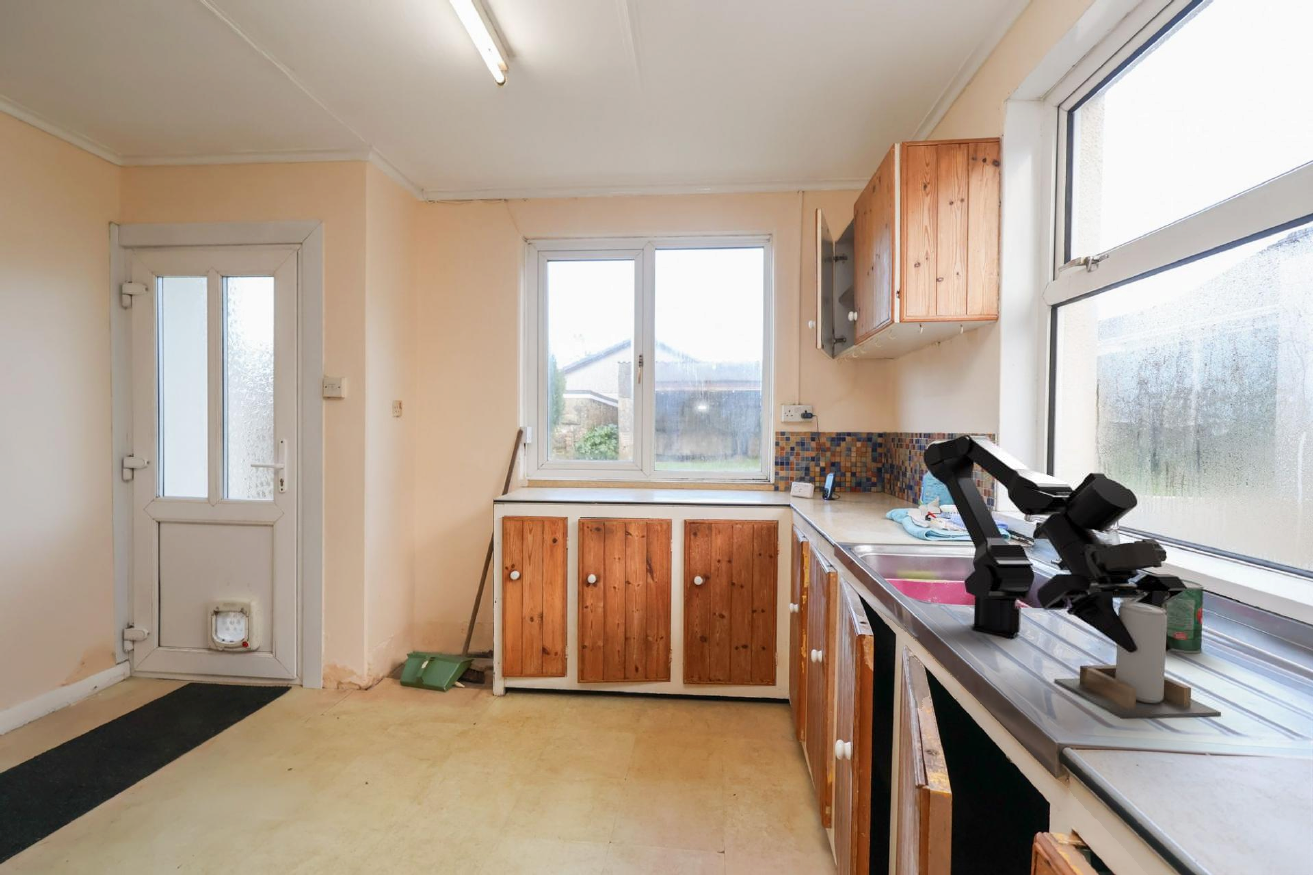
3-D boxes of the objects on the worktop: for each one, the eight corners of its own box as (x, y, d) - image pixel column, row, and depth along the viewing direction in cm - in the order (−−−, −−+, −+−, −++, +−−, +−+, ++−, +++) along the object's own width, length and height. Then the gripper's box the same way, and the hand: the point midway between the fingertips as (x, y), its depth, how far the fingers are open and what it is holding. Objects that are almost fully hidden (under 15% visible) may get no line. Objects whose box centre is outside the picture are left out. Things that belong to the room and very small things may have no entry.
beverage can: (1172, 707, 69) (1177, 614, 69) (1129, 702, 70) (1133, 610, 70) (1146, 689, 74) (1150, 603, 74) (1106, 685, 75) (1110, 599, 75)
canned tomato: (1215, 653, 89) (1217, 587, 89) (1171, 653, 89) (1173, 587, 89) (1167, 635, 97) (1169, 575, 97) (1126, 635, 97) (1128, 574, 97)
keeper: (1054, 681, 77) (1054, 661, 77) (1141, 679, 78) (1142, 659, 78) (1121, 718, 67) (1122, 695, 67) (1220, 715, 68) (1221, 692, 68)
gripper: (1056, 516, 74) (1131, 624, 64) (1176, 518, 76) (1268, 623, 66) (1011, 559, 82) (1071, 661, 72) (1120, 559, 84) (1194, 659, 74)
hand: (1151, 651), depth 70 cm, fingers closed on beverage can, 5 cm apart
